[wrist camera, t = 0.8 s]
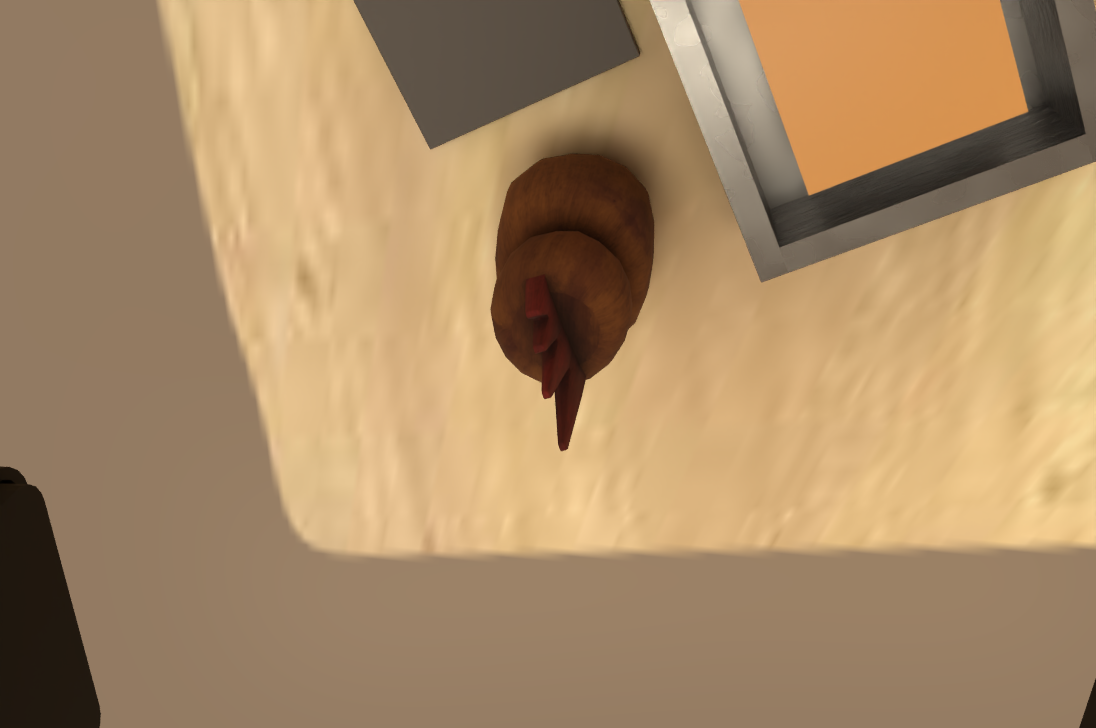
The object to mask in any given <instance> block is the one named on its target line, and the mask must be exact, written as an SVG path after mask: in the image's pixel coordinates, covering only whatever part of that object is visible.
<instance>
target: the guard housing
mask: <svg viewBox="0 0 1096 728" xmlns="http://www.w3.org/2000/svg"><path fill="white" fill-rule="evenodd" d="M650 3H651V5H652V8H653V10H654V13H655V15H656V18H657V20H658V23H659V26H660V28H661V31H662V33H663V36H664V38H665V41H666V43H667V46H668V48H669V51H670V53H671V56H672V58H673V61H674V63H675V66H676V68H677V71H678V73H679V76H680V79H681V81H682V84H683V86H684V89H685V91H686V94H687V96H688V99H689V101H690V104H691V106H692V109H693V111H694V114H695V116H696V119H697V121H698V124H699V126H700V129H701V132H702V134H703V137H704V139H705V142H706V144H707V147H708V149H709V152H710V154H711V157H712V159H713V162H714V164H715V167H716V169H717V172H718V174H719V177H720V179H721V182H722V185H723V187H724V190H725V192H726V195H727V197H728V200H729V202H730V205H731V207H732V210H733V212H734V215H735V217H736V220H737V222H738V225H739V227H740V230H741V232H742V235H743V238H744V240H745V243H746V245H747V248H748V250H749V253H750V255H751V258H752V260H753V263H754V265H755V268H756V270H757V273H758V275H759V278H760V280H761V282H764V281H767V280H770V279H772V278H775V277H778V276H781V275H783V274H786V273H789V272H792V271H794V270H797V269H800V268H803V267H806V266H808V265H811V264H814V263H817V262H819V261H822V260H825V259H828V258H830V257H833V256H836V255H839V254H841V253H844V252H847V251H850V250H852V249H855V248H858V247H861V246H864V245H866V244H869V243H872V242H875V241H877V240H880V239H883V238H886V237H888V236H891V235H894V234H897V233H899V232H902V231H905V230H908V229H910V228H913V227H916V226H919V225H922V224H924V223H927V222H930V221H933V220H935V219H938V218H941V217H944V216H946V215H949V214H952V213H955V212H957V211H960V210H963V209H966V208H968V207H971V206H974V205H977V204H980V203H982V202H985V201H988V200H991V199H993V198H996V197H999V196H1002V195H1004V194H1007V193H1010V192H1013V191H1015V190H1018V189H1021V188H1024V187H1026V186H1029V185H1032V184H1035V183H1038V182H1040V181H1043V180H1046V179H1049V178H1051V177H1054V176H1057V175H1060V174H1062V173H1065V172H1068V171H1071V170H1073V169H1076V168H1079V167H1082V166H1084V165H1087V164H1090V163H1093V162H1096V10H1095V5H1094V1H1093V0H1000V3H1001V7H1002V10H1003V14H1004V18H1005V22H1006V26H1007V30H1008V34H1009V38H1010V42H1011V46H1012V50H1013V54H1014V57H1015V61H1016V65H1017V69H1018V73H1019V77H1020V81H1021V85H1022V89H1023V93H1024V97H1025V100H1026V104H1027V108H1028V112H1026V113H1023V114H1021V115H1018V116H1016V117H1013V118H1010V119H1008V120H1005V121H1002V122H1000V123H997V124H995V125H992V126H989V127H987V128H984V129H982V130H979V131H976V132H974V133H971V134H969V135H966V136H963V137H961V138H958V139H955V140H953V141H950V142H948V143H945V144H942V145H940V146H937V147H935V148H932V149H929V150H927V151H924V152H922V153H919V154H916V155H914V156H911V157H908V158H906V159H903V160H901V161H898V162H895V163H893V164H890V165H888V166H885V167H882V168H880V169H877V170H874V171H872V172H869V173H867V174H864V175H861V176H859V177H856V178H854V179H851V180H848V181H846V182H843V183H841V184H838V185H835V186H833V187H830V188H827V189H825V190H822V191H820V192H817V193H814V194H812V195H809V194H808V191H807V189H806V186H805V183H804V180H803V178H802V175H801V172H800V169H799V167H798V164H797V161H796V158H795V155H794V153H793V150H792V147H791V144H790V142H789V139H788V136H787V133H786V130H785V128H784V125H783V122H782V119H781V117H780V114H779V111H778V108H777V106H776V103H775V100H774V97H773V94H772V92H771V89H770V86H769V83H768V81H767V78H766V75H765V72H764V69H763V67H762V64H761V61H760V58H759V56H758V53H757V50H756V47H755V44H754V42H753V39H752V36H751V33H750V31H749V28H748V25H747V22H746V20H745V17H744V14H743V11H742V8H741V6H740V3H739V0H650Z"/></svg>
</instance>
